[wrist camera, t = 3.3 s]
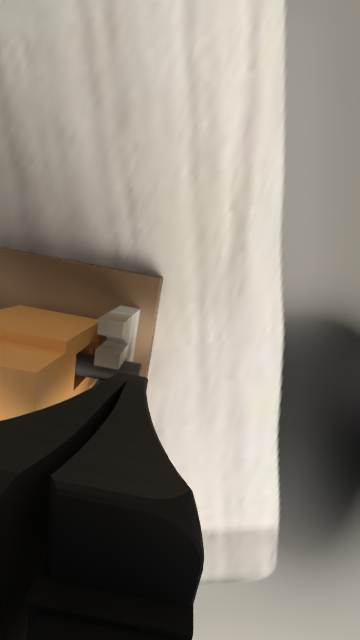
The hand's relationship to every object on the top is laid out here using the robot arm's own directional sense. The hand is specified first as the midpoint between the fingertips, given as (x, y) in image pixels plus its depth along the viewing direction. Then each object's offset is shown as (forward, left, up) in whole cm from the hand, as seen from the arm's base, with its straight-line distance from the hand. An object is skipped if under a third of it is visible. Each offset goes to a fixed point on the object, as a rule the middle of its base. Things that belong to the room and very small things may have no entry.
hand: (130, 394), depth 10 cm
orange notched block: (0, +6, -4) cm, 7 cm away
